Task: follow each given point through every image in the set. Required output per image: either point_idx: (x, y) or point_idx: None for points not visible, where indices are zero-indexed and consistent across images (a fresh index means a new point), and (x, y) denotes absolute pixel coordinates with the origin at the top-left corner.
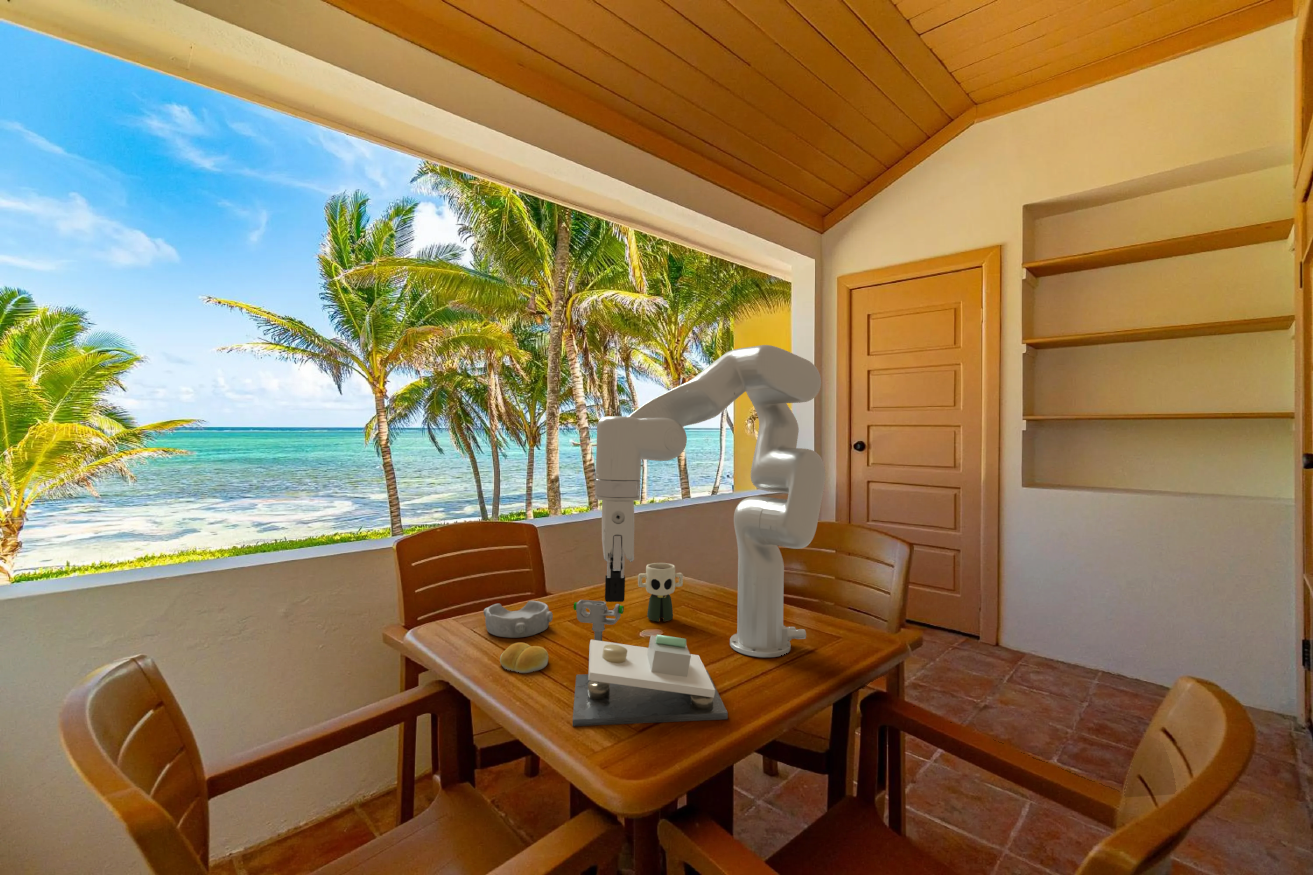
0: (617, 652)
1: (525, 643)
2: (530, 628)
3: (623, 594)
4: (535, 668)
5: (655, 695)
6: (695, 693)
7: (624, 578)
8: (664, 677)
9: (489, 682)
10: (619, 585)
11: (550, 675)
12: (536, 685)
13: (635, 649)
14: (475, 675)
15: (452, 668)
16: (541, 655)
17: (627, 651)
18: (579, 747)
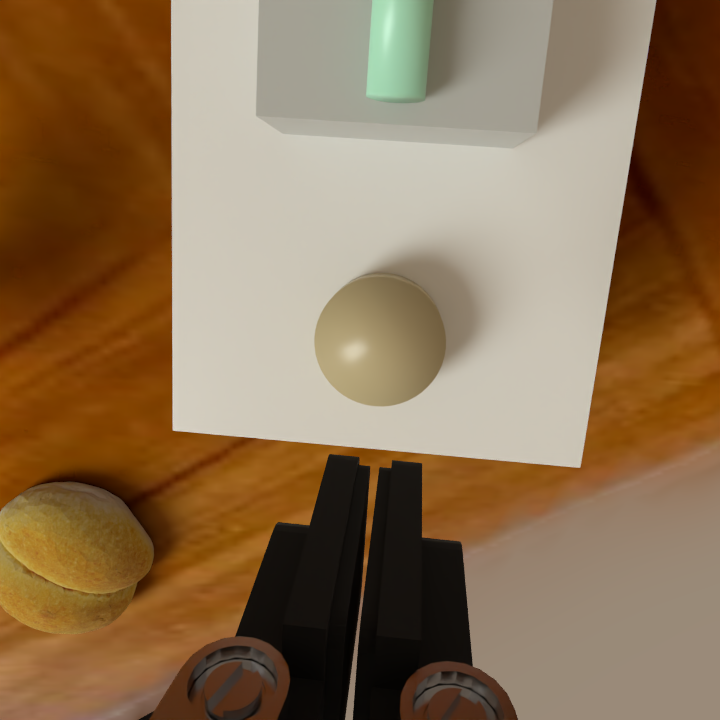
0: (425, 338)
1: (6, 584)
2: None
3: (421, 504)
4: (138, 523)
5: None
6: None
7: (416, 634)
8: (573, 78)
9: (217, 628)
10: (464, 629)
11: (170, 472)
12: (247, 513)
13: (224, 194)
14: (167, 661)
15: (119, 710)
16: (92, 528)
17: (268, 247)
18: (686, 411)
